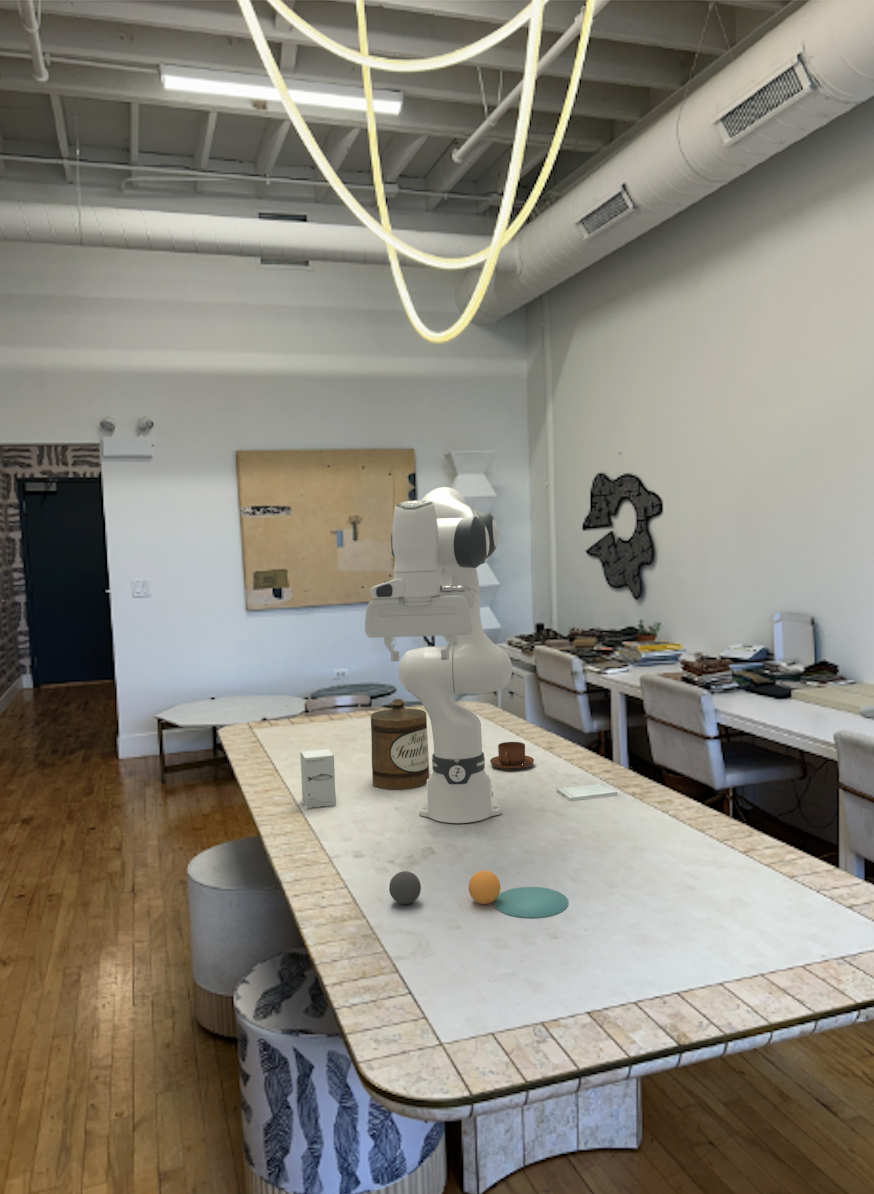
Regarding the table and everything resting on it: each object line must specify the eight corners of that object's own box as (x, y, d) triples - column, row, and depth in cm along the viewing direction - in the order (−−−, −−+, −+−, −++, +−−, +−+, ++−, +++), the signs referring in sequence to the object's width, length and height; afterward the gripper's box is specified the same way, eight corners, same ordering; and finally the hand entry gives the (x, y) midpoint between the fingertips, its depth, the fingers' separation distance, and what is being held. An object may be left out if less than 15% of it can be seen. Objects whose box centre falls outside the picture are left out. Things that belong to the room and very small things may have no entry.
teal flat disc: (494, 888, 168) (494, 887, 168) (566, 887, 167) (566, 886, 167) (492, 918, 155) (492, 917, 155) (570, 918, 154) (570, 916, 154)
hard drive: (602, 782, 230) (556, 788, 227) (617, 791, 222) (569, 797, 219) (602, 789, 230) (556, 794, 227) (617, 798, 222) (569, 803, 219)
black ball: (392, 896, 166) (390, 866, 166) (423, 896, 165) (421, 866, 165) (387, 909, 160) (386, 878, 160) (419, 909, 160) (418, 878, 159)
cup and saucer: (536, 772, 247) (535, 749, 246) (491, 773, 247) (490, 750, 247) (532, 760, 259) (531, 739, 258) (489, 762, 259) (488, 740, 258)
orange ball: (469, 896, 165) (468, 865, 164) (501, 896, 164) (500, 865, 164) (468, 909, 159) (467, 877, 159) (500, 909, 159) (499, 877, 158)
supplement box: (306, 809, 220) (303, 757, 219) (302, 801, 227) (299, 750, 226) (336, 806, 222) (334, 754, 221) (331, 797, 229) (329, 747, 228)
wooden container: (405, 793, 231) (401, 706, 229) (361, 785, 240) (357, 701, 238) (440, 779, 243) (437, 696, 241) (397, 771, 252) (394, 692, 250)
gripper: (473, 584, 175) (475, 656, 176) (366, 587, 177) (369, 659, 178) (472, 585, 169) (474, 660, 170) (361, 589, 171) (364, 663, 171)
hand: (420, 660), depth 174 cm, fingers open, 8 cm apart
